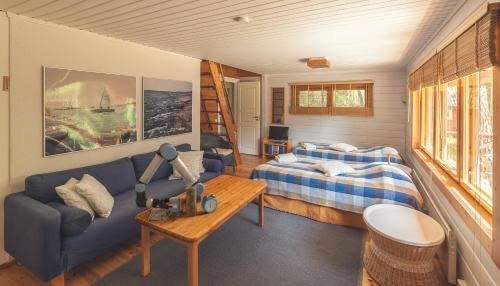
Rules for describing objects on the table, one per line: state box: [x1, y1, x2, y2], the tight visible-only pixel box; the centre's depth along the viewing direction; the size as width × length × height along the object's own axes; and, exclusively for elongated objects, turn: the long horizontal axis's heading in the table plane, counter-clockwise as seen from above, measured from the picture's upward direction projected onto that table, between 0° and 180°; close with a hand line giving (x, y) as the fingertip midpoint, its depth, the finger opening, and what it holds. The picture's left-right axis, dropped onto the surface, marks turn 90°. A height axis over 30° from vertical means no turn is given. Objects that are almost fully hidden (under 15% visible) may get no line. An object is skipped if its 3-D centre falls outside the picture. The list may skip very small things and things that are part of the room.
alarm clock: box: [200, 193, 219, 214], centre depth 223 cm, size 13×6×15 cm, turn 124°
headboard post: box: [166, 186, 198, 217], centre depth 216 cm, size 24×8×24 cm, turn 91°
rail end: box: [168, 196, 182, 212], centre depth 217 cm, size 8×5×14 cm, turn 91°
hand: (179, 203), depth 217 cm, fingers open, 13 cm apart
